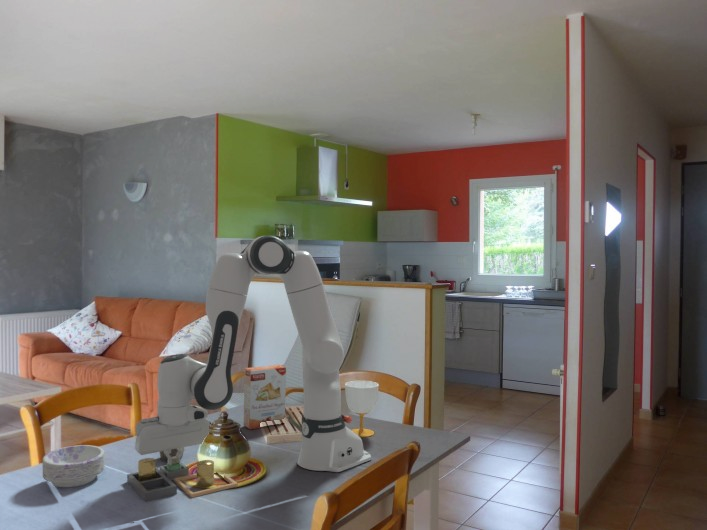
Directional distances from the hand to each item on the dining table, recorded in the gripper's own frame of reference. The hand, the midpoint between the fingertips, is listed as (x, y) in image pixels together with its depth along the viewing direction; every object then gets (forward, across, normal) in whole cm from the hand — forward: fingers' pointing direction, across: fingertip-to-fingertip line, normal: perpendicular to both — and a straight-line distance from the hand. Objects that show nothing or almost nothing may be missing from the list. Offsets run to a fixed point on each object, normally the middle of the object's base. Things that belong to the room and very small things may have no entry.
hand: (173, 463), depth 167 cm
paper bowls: (+4, -23, +12) cm, 26 cm away
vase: (+4, +4, +13) cm, 14 cm away
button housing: (+4, 0, 0) cm, 4 cm away
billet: (+3, +5, -11) cm, 12 cm away
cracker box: (+4, +44, +30) cm, 53 cm away
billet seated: (+3, -8, -2) cm, 9 cm away
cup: (+4, +67, +3) cm, 67 cm away
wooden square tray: (+4, +5, -11) cm, 13 cm away
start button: (+3, 0, 0) cm, 3 cm away
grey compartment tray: (+4, -8, -6) cm, 10 cm away
